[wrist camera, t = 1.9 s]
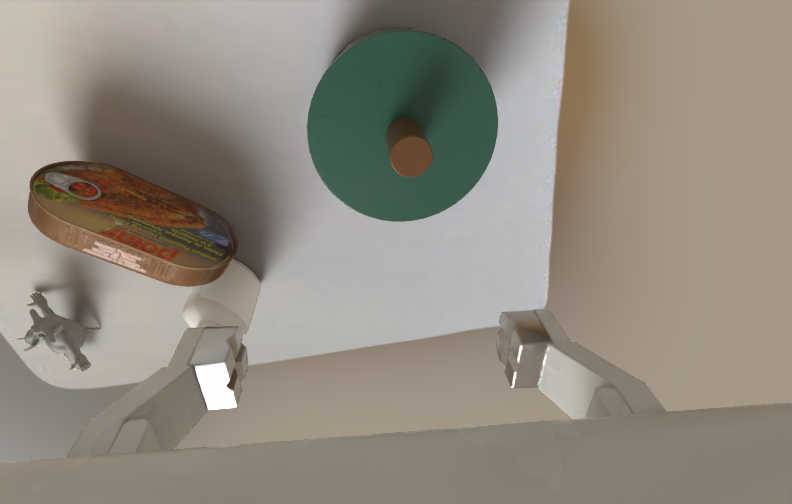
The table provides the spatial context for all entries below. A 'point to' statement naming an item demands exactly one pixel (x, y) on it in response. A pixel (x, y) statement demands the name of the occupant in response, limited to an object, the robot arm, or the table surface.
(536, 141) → the table surface
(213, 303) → the eye dropper bottle
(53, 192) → the tin
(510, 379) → the robot arm
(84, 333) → the grey creature figurine
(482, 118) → the lid
